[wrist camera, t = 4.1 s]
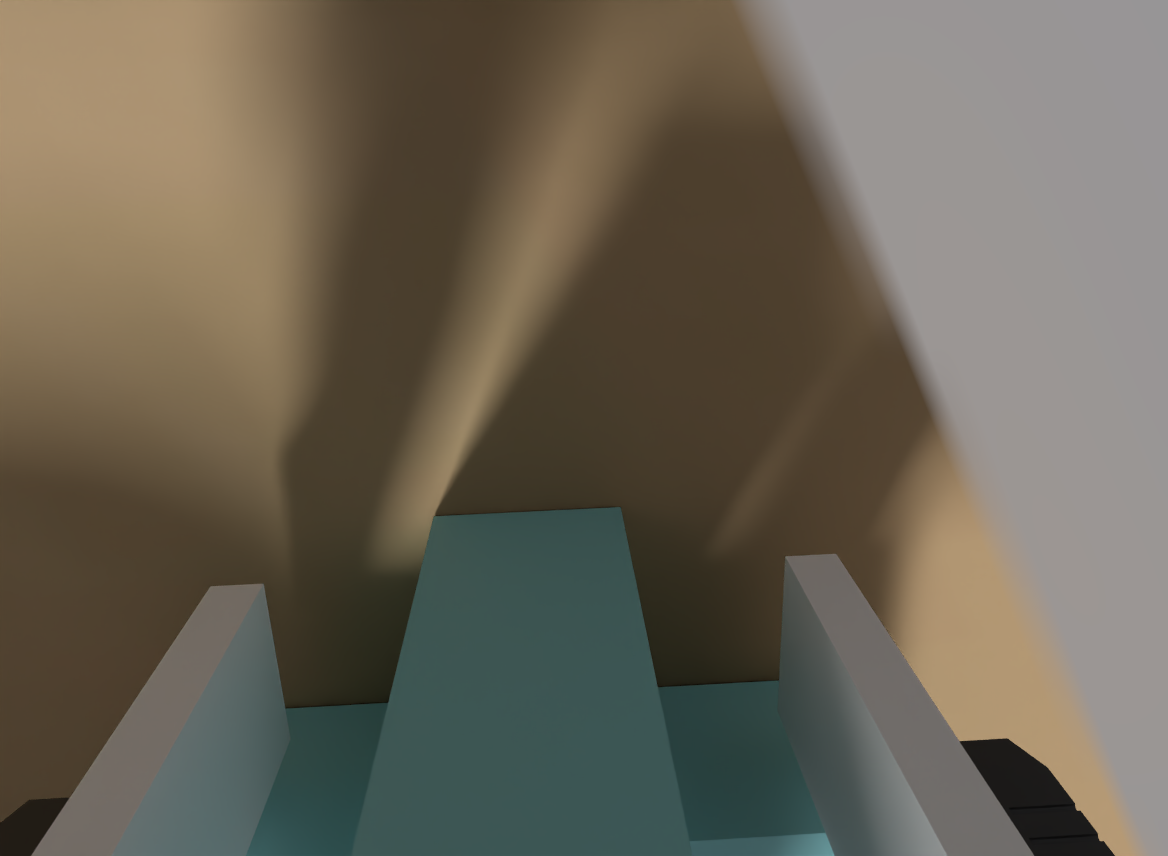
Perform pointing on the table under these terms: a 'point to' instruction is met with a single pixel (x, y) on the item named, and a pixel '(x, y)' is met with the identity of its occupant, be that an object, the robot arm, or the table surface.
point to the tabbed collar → (538, 722)
